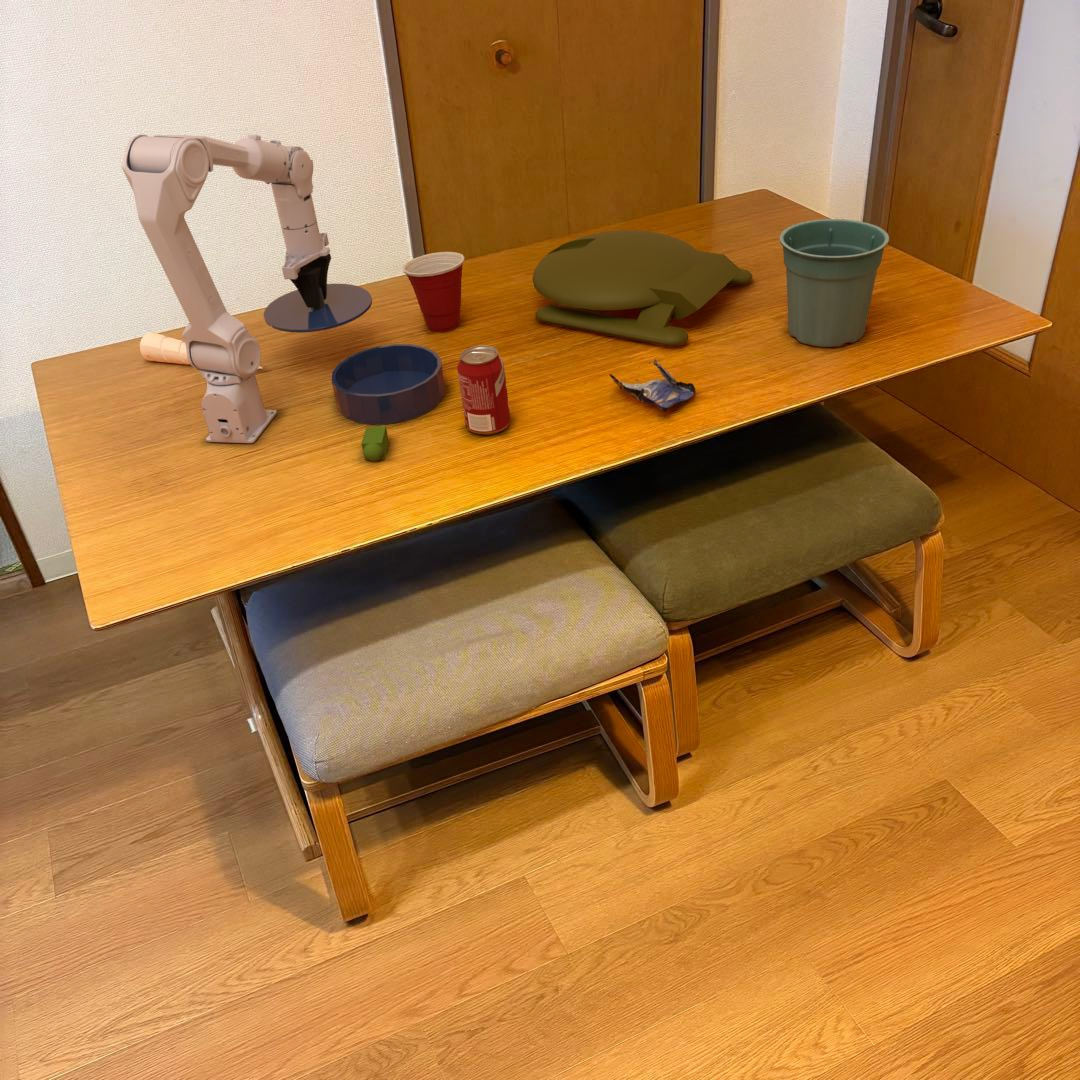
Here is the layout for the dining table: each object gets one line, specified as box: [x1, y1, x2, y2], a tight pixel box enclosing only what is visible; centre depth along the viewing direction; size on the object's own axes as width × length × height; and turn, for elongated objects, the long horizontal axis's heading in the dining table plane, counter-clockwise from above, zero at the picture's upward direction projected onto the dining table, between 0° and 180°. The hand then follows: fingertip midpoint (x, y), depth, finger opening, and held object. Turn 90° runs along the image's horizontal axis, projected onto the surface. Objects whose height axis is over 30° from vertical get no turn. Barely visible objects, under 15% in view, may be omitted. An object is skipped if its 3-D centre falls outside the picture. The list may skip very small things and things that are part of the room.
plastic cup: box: [402, 251, 465, 333], centre depth 190 cm, size 11×11×12 cm
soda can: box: [456, 344, 512, 436], centre depth 159 cm, size 7×7×12 cm
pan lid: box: [263, 283, 373, 333], centre depth 180 cm, size 18×18×4 cm
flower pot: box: [779, 218, 890, 348], centre depth 173 cm, size 16×16×16 cm
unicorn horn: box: [139, 331, 264, 370], centre depth 187 cm, size 5×24×5 cm, turn 65°
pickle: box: [360, 425, 390, 462], centre depth 159 cm, size 7×3×3 cm, turn 179°
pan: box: [330, 343, 446, 426], centre depth 172 cm, size 17×17×5 cm
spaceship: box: [532, 229, 753, 348], centre depth 192 cm, size 35×31×10 cm
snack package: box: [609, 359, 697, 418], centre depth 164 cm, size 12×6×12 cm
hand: (316, 303), depth 181 cm, fingers closed on pan lid, 2 cm apart
